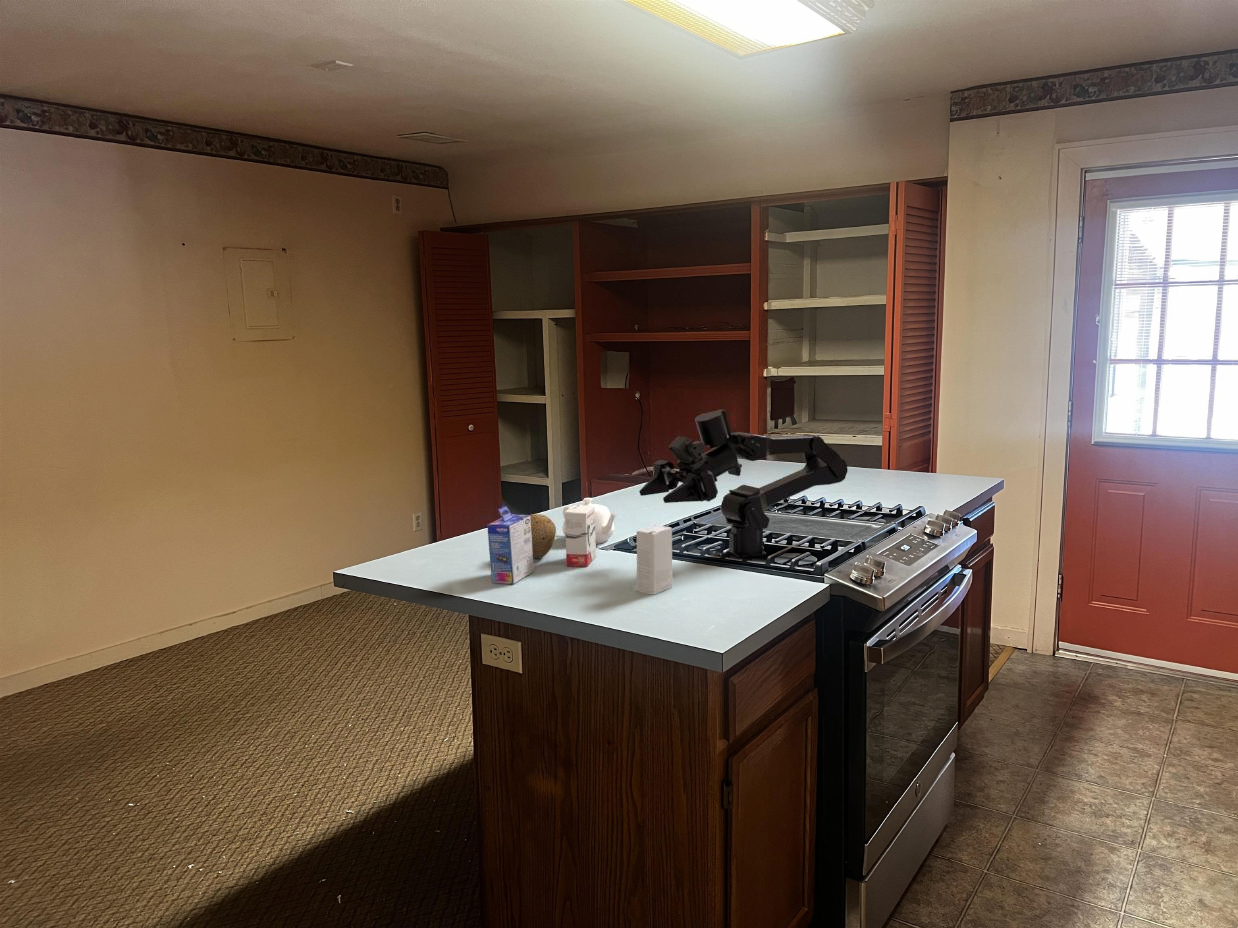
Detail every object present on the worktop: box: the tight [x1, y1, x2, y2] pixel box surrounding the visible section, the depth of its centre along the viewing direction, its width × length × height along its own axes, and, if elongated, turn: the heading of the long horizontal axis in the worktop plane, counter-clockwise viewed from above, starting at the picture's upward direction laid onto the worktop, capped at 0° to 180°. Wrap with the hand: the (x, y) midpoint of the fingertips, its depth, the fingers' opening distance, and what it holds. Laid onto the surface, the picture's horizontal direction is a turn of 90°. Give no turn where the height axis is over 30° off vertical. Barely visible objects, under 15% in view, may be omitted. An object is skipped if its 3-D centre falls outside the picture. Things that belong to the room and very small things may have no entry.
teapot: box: [562, 497, 618, 545], centre depth 207 cm, size 20×12×10 cm, turn 40°
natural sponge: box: [529, 513, 557, 559], centre depth 192 cm, size 9×9×10 cm
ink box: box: [564, 504, 597, 567], centre depth 188 cm, size 9×5×12 cm, turn 168°
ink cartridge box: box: [486, 506, 535, 585], centre depth 177 cm, size 10×6×14 cm, turn 161°
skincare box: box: [636, 524, 673, 595], centre depth 167 cm, size 6×4×12 cm
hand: (651, 496), depth 178 cm, fingers open, 9 cm apart
